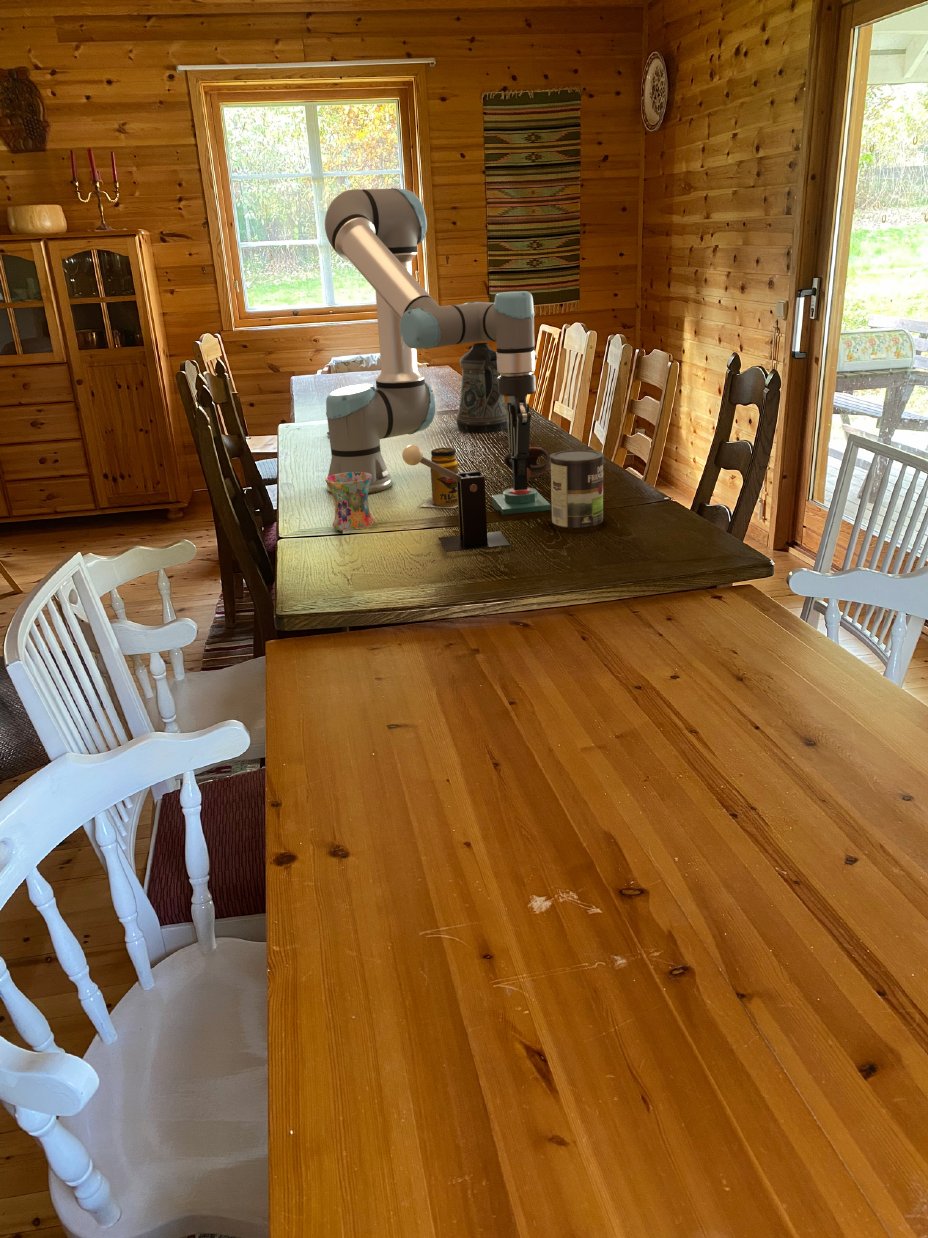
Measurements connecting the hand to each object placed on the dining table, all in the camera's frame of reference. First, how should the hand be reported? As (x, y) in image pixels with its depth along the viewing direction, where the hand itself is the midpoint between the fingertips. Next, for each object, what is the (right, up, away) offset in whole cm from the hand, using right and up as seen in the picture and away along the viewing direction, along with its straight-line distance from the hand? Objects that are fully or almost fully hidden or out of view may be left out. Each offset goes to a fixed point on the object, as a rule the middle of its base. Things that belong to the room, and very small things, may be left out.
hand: (520, 489), depth 191 cm
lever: (-17, -2, -26) cm, 31 cm away
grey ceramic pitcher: (-5, +31, +89) cm, 95 cm away
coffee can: (+11, -9, -11) cm, 18 cm away
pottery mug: (+4, +6, +28) cm, 29 cm away
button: (0, -2, +1) cm, 2 cm away
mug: (-34, -8, -3) cm, 35 cm away
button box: (0, -4, +2) cm, 5 cm away
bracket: (-10, -14, -20) cm, 26 cm away
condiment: (-16, -2, +10) cm, 19 cm away
